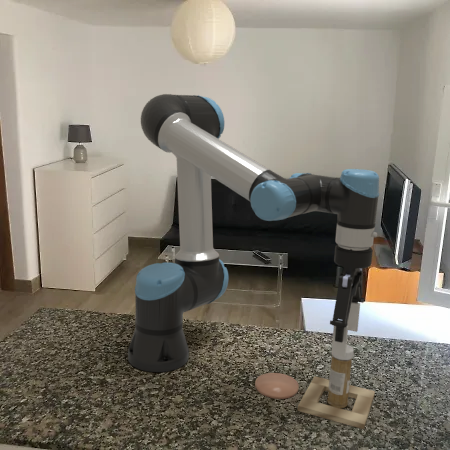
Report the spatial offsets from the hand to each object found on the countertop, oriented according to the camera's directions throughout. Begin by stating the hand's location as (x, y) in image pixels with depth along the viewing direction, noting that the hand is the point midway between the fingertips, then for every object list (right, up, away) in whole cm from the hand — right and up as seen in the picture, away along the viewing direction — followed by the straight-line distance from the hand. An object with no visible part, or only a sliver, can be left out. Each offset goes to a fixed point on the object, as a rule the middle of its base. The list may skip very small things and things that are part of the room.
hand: (345, 341), depth 112 cm
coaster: (-14, -12, +9) cm, 21 cm away
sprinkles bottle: (-1, -14, +4) cm, 15 cm away
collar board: (-1, -14, +4) cm, 15 cm away
